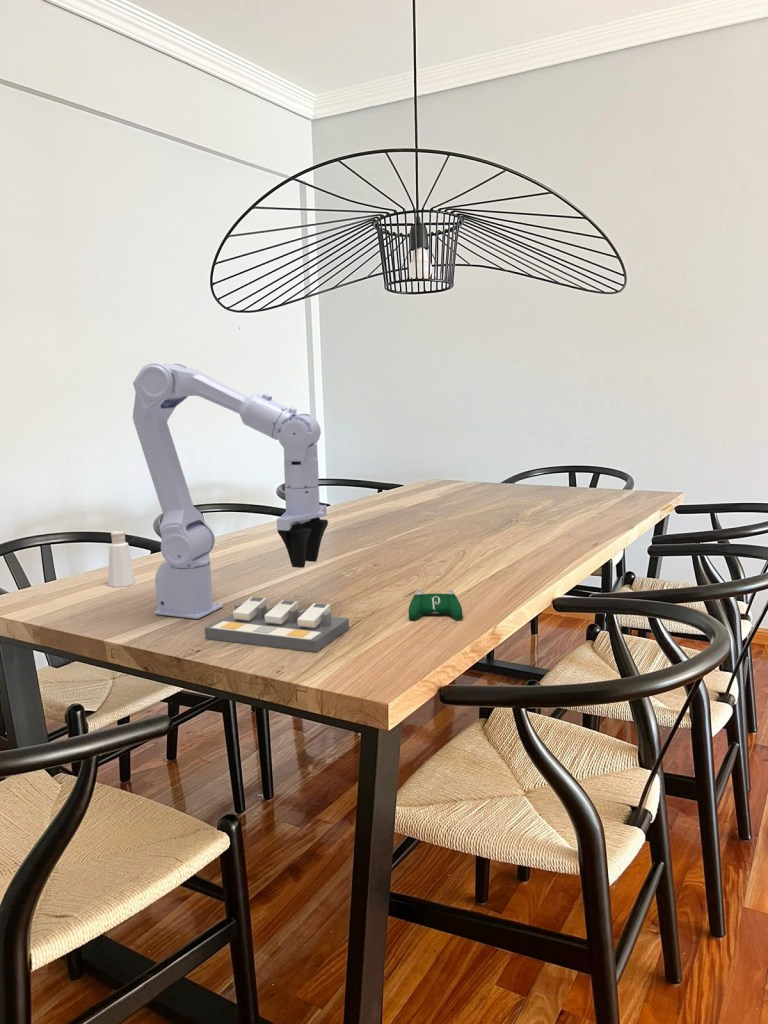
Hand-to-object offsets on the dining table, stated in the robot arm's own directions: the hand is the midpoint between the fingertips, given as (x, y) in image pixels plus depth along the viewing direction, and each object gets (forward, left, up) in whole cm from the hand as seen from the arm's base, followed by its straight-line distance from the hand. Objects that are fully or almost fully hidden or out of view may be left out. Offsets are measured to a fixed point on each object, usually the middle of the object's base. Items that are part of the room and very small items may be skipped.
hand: (304, 564), depth 137 cm
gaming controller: (+21, +7, -10) cm, 25 cm away
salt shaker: (-47, +8, -10) cm, 49 cm away
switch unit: (0, -10, -9) cm, 14 cm away
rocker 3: (+6, -9, -6) cm, 12 cm away
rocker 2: (0, -9, -6) cm, 10 cm away
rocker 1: (-6, -9, -6) cm, 12 cm away
